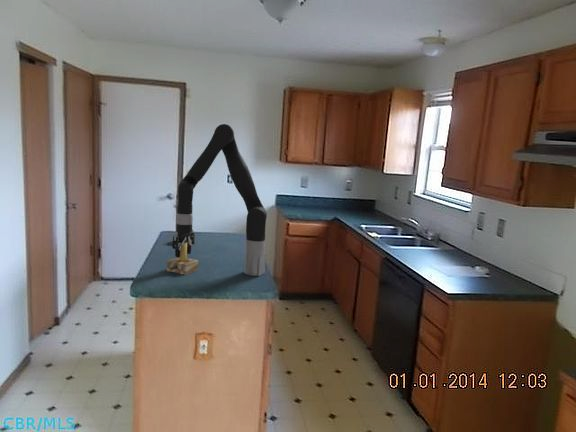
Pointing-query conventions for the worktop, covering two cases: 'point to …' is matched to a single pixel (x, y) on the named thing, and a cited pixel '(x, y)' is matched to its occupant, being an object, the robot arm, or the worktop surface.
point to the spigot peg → (183, 253)
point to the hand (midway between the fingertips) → (183, 255)
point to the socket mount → (182, 266)
